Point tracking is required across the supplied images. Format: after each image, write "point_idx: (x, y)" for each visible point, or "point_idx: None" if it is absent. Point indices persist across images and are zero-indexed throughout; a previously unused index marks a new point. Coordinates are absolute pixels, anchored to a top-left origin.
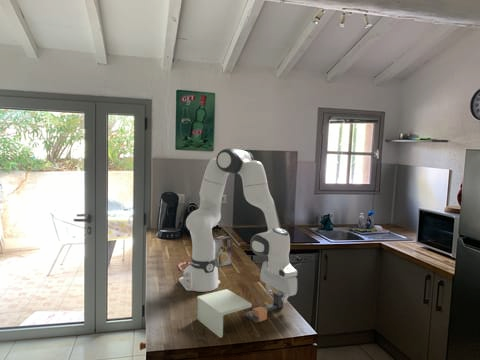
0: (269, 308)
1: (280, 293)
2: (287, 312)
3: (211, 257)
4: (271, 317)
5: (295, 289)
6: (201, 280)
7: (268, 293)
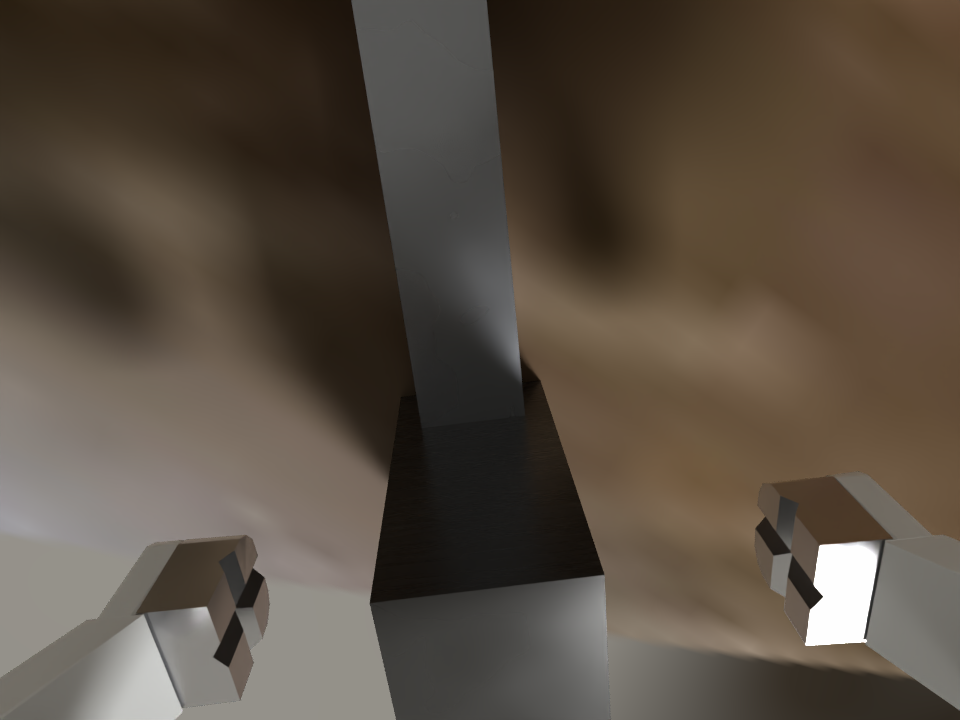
0: (385, 199)
1: (477, 716)
2: (209, 475)
3: None
4: (86, 50)
5: None
6: None
7: (817, 485)
